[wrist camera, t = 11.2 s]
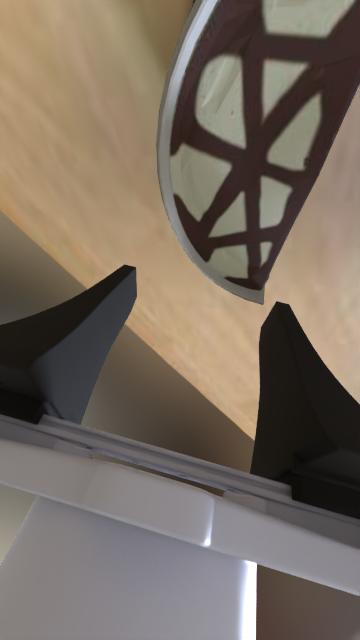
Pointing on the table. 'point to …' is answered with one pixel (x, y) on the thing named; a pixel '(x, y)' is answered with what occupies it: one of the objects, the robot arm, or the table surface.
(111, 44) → the table surface
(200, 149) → the food container
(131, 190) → the table surface
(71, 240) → the table surface
